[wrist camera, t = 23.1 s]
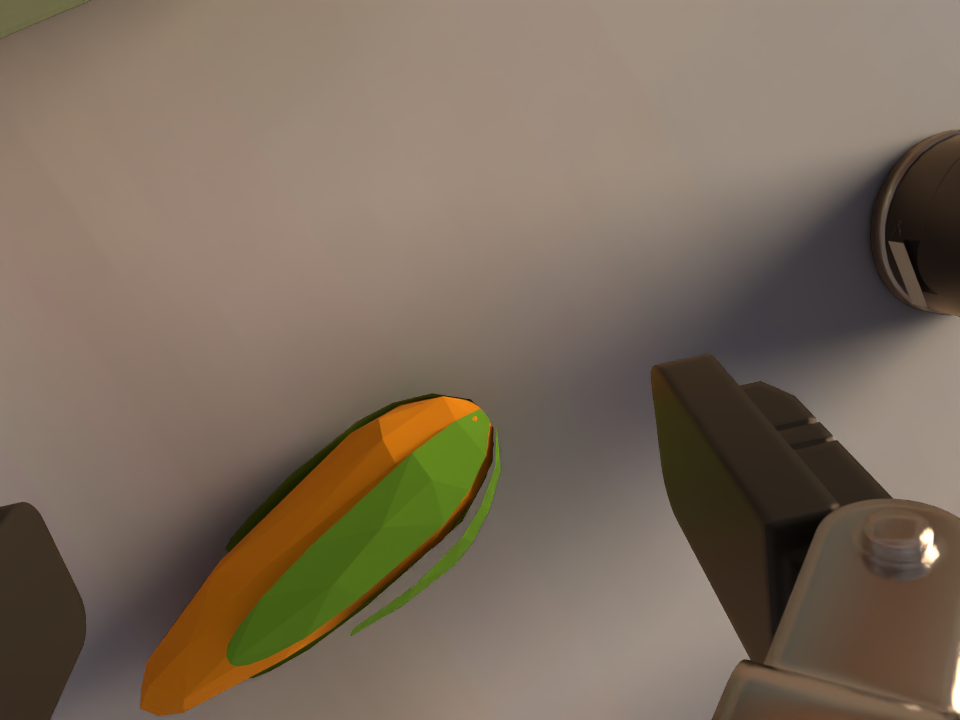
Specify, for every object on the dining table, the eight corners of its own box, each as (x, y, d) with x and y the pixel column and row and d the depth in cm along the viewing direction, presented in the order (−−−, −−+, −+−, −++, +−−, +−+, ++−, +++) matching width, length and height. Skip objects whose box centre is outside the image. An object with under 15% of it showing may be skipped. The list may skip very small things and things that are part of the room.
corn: (563, 505, 36) (196, 827, 36) (524, 454, 43) (220, 722, 43) (447, 373, 34) (60, 711, 34) (427, 344, 42) (109, 622, 42)
